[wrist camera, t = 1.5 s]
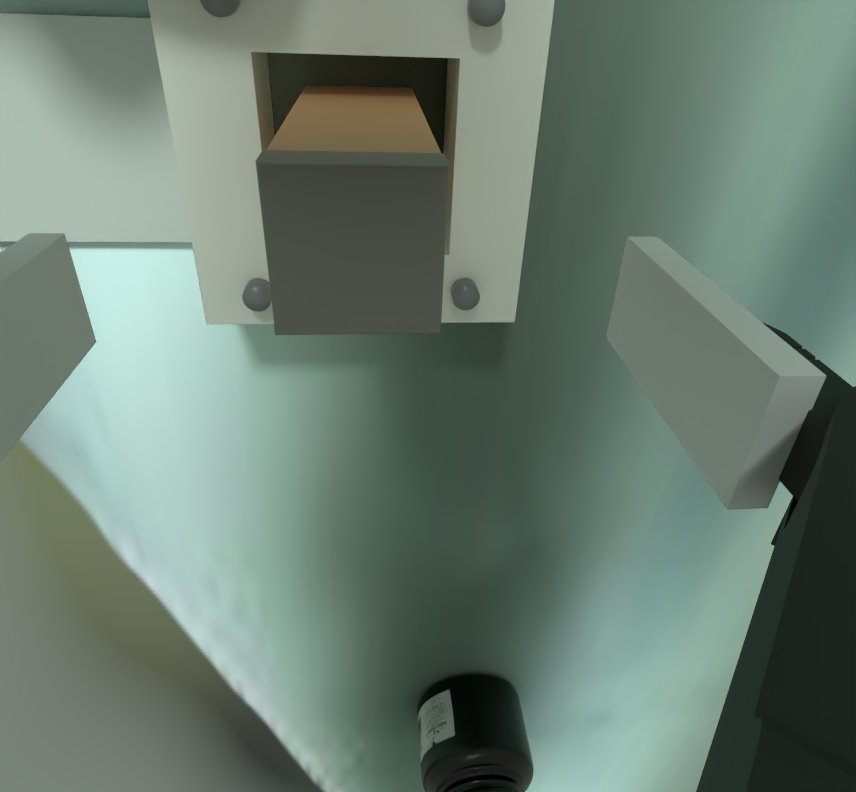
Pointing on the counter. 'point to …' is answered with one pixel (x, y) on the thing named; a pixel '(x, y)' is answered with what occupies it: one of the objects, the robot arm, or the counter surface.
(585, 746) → the counter surface
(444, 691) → the ink bottle
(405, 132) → the plug
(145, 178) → the mat
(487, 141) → the frame
